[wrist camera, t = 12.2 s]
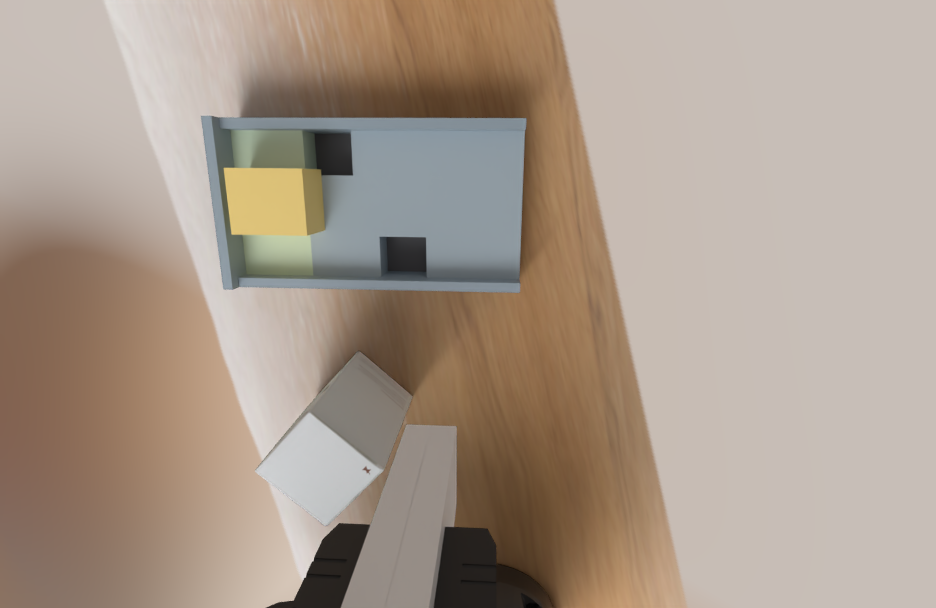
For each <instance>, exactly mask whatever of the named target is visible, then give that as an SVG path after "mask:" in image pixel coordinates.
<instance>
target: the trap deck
mask: <svg viewBox="0 0 936 608" xmlns="http://www.w3.org/2000/svg"><path fill="white" fill-rule="evenodd" d="M201 120H202V128H203V135H204V143H205V151H206V159H207V166H208V174H209V182H210V189H211V197H212V205H213V213H214V220H215V228H216V236H217V243H218V251H219V259H220V267H221V274H222V282H223V289H229V290H233V289H235V288H238V287H267V288H316V289H364V290H413V291H461V292H510V293H520V280H519V276H520V249H521V222H522V195H523V168H524V141H525V130H526V118H218V117H214V116H201ZM224 168H299V169H321V177H322V191H323V206H324V221H325V231H321V232H318V233H315V234H312V235H308V236H285V235H232V234H231V226H230V217H229V209H228V201H227V192H226V184H225V175H224Z"/></svg>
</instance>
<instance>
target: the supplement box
mask: <svg viewBox="0 0 936 608" xmlns="http://www.w3.org/2000/svg"><path fill="white" fill-rule="evenodd" d="M412 398H413V396H412V395H410V394H409V393H408V392H407V391H406V390H405V389H404V388H402V387H401V386H400V385H399V384H398V383H397V382H395V381H394V380H393V379H392V378H391V377H390V376H388V375H387V374H386V373H385V372H384V371H383V370H381V369H380V368H379V367H378V366H377V365H376V364H374V363H373V362H372V361H371V360H370V359H369V358H367V357H366V356H365V355H364V354H362V353H361V352H360V351H358V352H357V353H356V354H355V355H354V356H353V357H352V358H351V359H350V360H349V362H348V363H347V364H346V365H345V366H344V367H343V368H342V369H341V370H340V371H339V372H338V373H337V375H336V376H335V377H334V378H333V379H332V380H331V381H330V382H329V383H328V384H327V385H326V387H325V388H324V389H323V390H322V391H321V392H320V393H319V394H318V395H317V396H316V398H315V399H314V400H313V401H312V402H311V403H310V405H309V406H308V407H307V408H306V409H305V410H304V412H303V413H302V414H301V415H300V416H299V418H298V419H297V420H296V421H295V422H294V424H293V425H292V426H291V427H290V428H289V430H288V431H287V432H286V433H285V434H284V436H283V437H282V438H281V439H280V440H279V442H278V443H277V444H276V445H275V446H274V448H273V449H272V450H271V451H270V452H269V454H268V455H267V456H266V457H265V459H264V460H263V461H262V462H261V464H260V465H259V466H258V467H257V469H256V470H255V472H256V473H258V474H259V475H260V476H261V477H263V478H264V479H265V480H266V481H268V482H269V483H270V484H272V485H273V486H274V487H276V488H277V489H278V490H279V491H281V492H282V493H283V494H285V495H286V496H287V497H288V498H290V499H291V500H292V501H294V502H295V503H296V504H298V505H299V506H300V507H302V508H303V509H304V510H306V511H307V512H308V513H309V514H310V515H312V516H313V517H314V518H315V519H317V520H318V521H319V522H320V523H322V524H323V525H324V526H327V525H329V524H330V523H331V522H332V521H333V520H334V519H335V518H336V517H337V516H338V515H339V514H340V513H341V512H342V511H343V510H344V509H345V508H346V507H347V506H348V505H349V504H350V503H351V502H352V501H353V500H355V499H356V498H357V497H358V496H359V495H360V493H361V492H362V491H363V490H364V489H365V488H366V487H367V486H368V485H369V484H370V483H371V482H373V481H374V480H375V479H376V478H377V477H378V476H379V475H380V474H381V473H382V472H383V471H384V469H385V467H386V464H387V462H388V459H389V457H390V454H391V451H392V449H393V446H394V444H395V441H396V439H397V436H398V433H399V431H400V428H401V426H402V423H403V421H404V418H405V415H406V413H407V410H408V408H409V405H410V403H411V400H412Z"/></svg>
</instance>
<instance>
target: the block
mask: <svg viewBox="0 0 936 608" xmlns="http://www.w3.org/2000/svg"><path fill="white" fill-rule="evenodd" d="M224 175H225V184H226V192H227V201H228V209H229V217H230V226H231V234H232V235H285V236H308V235H312V234H315V233H318V232H321V231H325V221H324V206H323V191H322V177H321V169H299V168H224Z"/></svg>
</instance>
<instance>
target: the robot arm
mask: <svg viewBox="0 0 936 608" xmlns="http://www.w3.org/2000/svg"><path fill="white" fill-rule="evenodd" d="M456 505H457V426H437V425H409V424H406V427H405V430H404V433H403V435H402V438H401V441H400V444H399V447H398V449H397V452H396V455H395V458H394V461H393V463H392V466H391V469H390V472H389V475H388V477H387V480H386V483H385V486H384V488H383V491H382V494H381V497H380V500H379V502H378V505H377V508H376V511H375V514H374V516H373V519H372V522H371V525H365V524H343V523H339V524H338V525H337V526H336V527H335V528H334V529H333V530H332V531H331V532H330V533H329V534H328V535H327V536H326V537H325V538H324V539H323V540H322V542H321V544H320V547H319V549H318V551H317V553H316V555H315V557H314V562H312V563H311V565H310V568H309V570H308V572H307V575H306V578H304V580H303V582H302V585H301V587H300V589H299V591H298V593H297V595H296V597H295V599H294V601H287V602H279V603H276V604H274V605H271V606H269V607H267V608H553V606H552V603H551V601H550V599H549V597H548V595H547V594H546V592H545V591H544V590H543V588H542V587H541V586H540V585H539V584H538V583H537V582H536V581H534V580H533V579H532V578H530V577H529V576H527V575H526V574H524V573H522V572H520V571H518V570H515V569H513V568H510V567H506V566H502V565H496V544H495V542H494V541H493V539H492V537H491V535H490V533H489V531H488V529H484V528H462V527H454V523H455V514H456Z"/></svg>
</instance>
